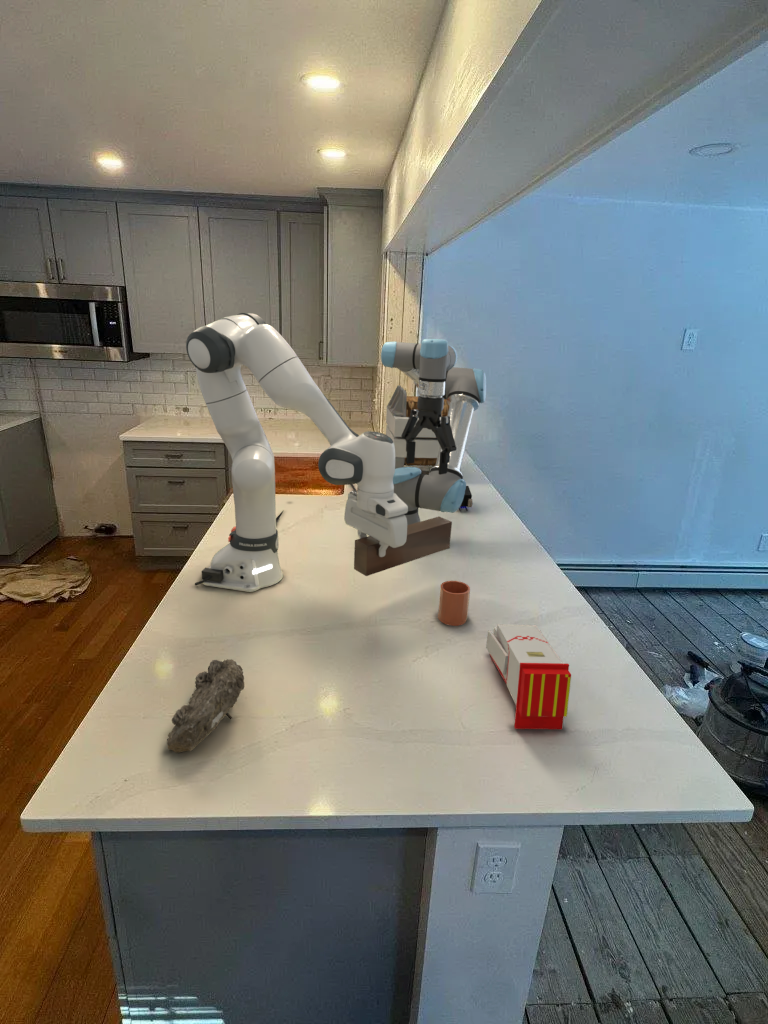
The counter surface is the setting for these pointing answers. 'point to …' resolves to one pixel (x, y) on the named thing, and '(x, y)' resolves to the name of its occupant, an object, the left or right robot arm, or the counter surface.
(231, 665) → the fossil
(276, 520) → the feather
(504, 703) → the counter surface
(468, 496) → the figurine character
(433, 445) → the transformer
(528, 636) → the toy
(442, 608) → the terracotta cup
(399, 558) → the walnut bar
